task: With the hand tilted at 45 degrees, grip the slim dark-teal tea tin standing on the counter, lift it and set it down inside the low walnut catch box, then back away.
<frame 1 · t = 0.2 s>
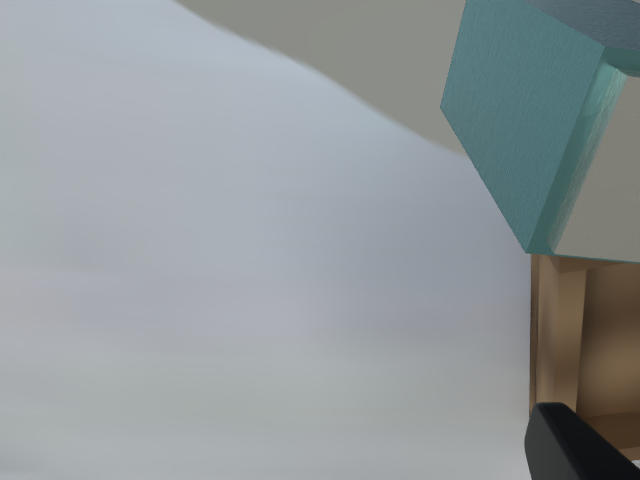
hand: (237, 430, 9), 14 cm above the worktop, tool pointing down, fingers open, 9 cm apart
tea tin: (518, 52, 20), on the worktop
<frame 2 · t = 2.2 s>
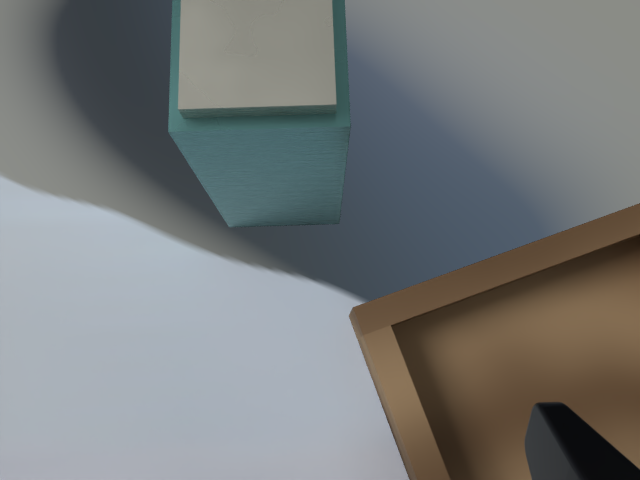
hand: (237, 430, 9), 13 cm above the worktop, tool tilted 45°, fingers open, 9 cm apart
catch box: (570, 419, 21), on the worktop
tea tin: (283, 173, 24), on the worktop
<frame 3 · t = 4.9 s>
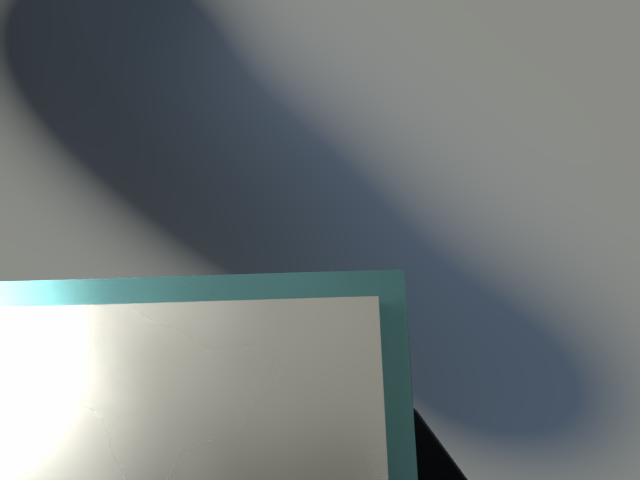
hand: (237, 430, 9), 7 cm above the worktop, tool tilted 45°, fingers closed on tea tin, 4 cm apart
tea tin: (273, 420, 15), on the worktop, touching gripper
when the fingers open (8 cm above the worktop, at t = 8.6 s): tea tin stays where it is, resting on catch box.
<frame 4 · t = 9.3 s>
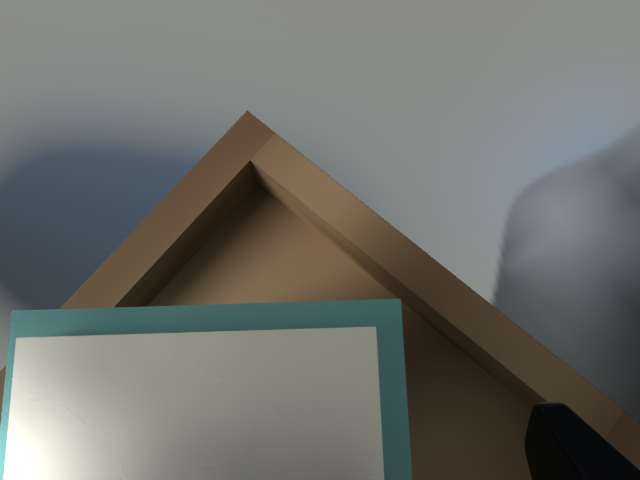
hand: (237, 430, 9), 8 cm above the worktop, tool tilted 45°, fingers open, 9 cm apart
catch box: (278, 456, 16), on the worktop
tea tin: (275, 430, 15), point 1 cm above the worktop, touching catch box
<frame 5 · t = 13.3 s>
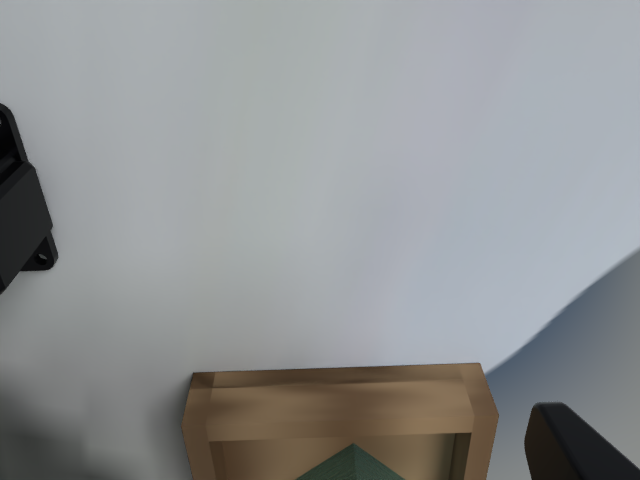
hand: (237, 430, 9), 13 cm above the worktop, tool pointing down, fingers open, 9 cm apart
catch box: (338, 460, 29), on the worktop
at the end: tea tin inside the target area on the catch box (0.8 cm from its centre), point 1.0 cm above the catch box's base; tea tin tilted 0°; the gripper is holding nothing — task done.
